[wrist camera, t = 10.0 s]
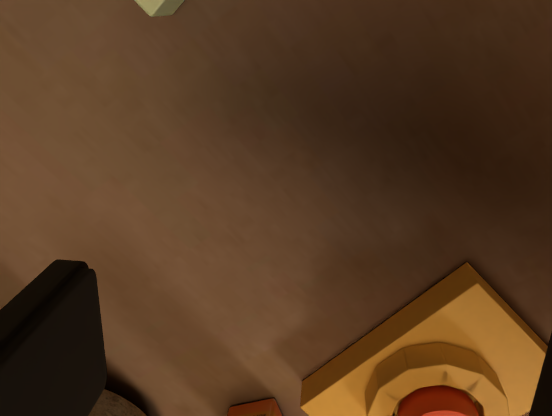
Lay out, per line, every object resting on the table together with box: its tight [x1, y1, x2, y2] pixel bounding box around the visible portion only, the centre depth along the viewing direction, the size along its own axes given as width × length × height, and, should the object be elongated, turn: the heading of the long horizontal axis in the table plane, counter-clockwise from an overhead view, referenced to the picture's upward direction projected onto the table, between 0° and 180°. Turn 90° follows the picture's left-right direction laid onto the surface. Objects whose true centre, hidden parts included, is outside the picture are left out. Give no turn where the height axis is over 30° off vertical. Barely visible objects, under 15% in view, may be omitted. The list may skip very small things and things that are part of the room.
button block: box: [300, 262, 548, 416], centre depth 28 cm, size 8×12×4 cm, turn 135°
